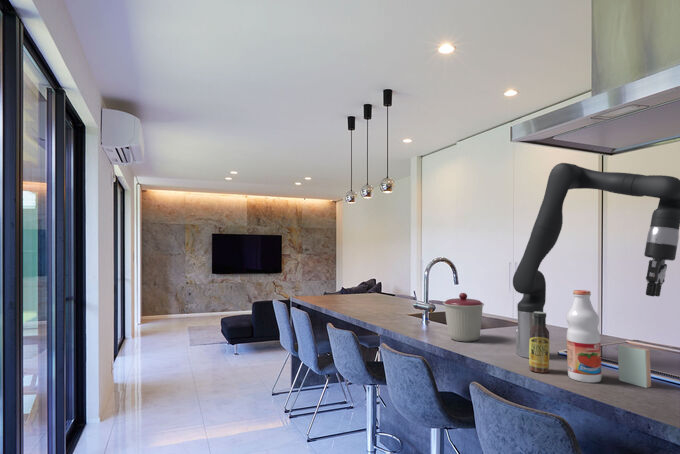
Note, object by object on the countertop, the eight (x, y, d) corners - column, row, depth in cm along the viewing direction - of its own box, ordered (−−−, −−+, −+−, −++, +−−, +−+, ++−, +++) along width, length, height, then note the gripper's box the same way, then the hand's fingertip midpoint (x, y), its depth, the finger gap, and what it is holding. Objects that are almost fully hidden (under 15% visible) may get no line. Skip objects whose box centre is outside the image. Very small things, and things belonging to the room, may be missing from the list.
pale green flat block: (618, 380, 134) (617, 345, 134) (623, 379, 135) (622, 344, 135) (646, 387, 126) (644, 350, 127) (651, 386, 128) (649, 349, 128)
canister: (490, 338, 194) (489, 292, 195) (475, 346, 180) (474, 296, 181) (453, 333, 205) (452, 290, 206) (436, 340, 191) (436, 293, 192)
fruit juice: (583, 372, 141) (580, 288, 143) (609, 381, 132) (605, 291, 134) (561, 375, 139) (558, 289, 140) (585, 384, 130) (582, 292, 131)
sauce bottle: (529, 372, 142) (528, 313, 143) (528, 367, 148) (527, 310, 149) (551, 374, 140) (549, 314, 141) (549, 369, 146) (547, 311, 146)
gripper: (650, 243, 136) (642, 293, 135) (642, 239, 125) (633, 292, 125) (680, 247, 130) (671, 299, 130) (674, 242, 120) (664, 298, 120)
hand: (652, 295), depth 128 cm, fingers open, 8 cm apart
